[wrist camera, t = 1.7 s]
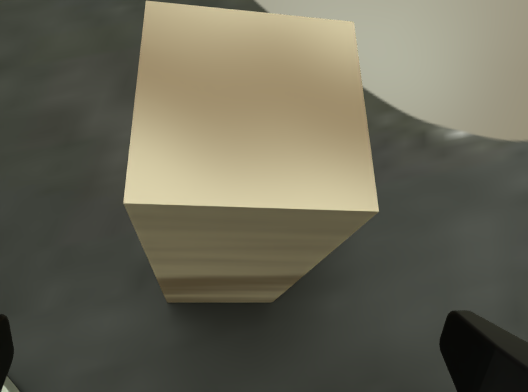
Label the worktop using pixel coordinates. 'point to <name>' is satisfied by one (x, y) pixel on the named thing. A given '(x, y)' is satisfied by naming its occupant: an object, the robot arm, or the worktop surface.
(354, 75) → the pine post
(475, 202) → the worktop surface
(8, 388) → the seat plate
